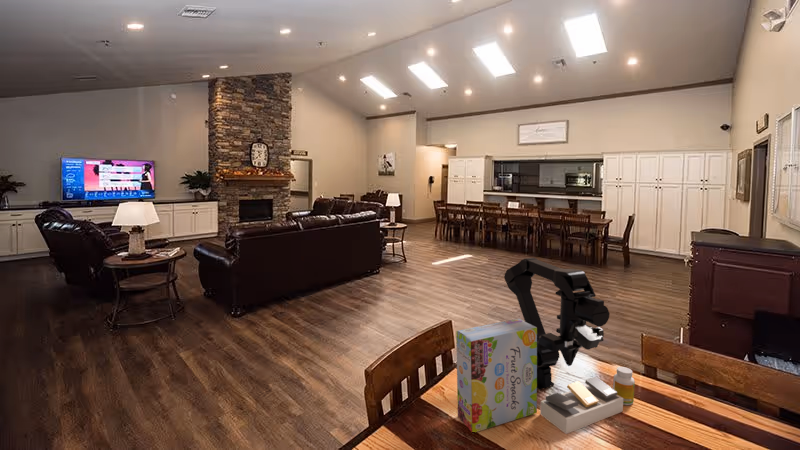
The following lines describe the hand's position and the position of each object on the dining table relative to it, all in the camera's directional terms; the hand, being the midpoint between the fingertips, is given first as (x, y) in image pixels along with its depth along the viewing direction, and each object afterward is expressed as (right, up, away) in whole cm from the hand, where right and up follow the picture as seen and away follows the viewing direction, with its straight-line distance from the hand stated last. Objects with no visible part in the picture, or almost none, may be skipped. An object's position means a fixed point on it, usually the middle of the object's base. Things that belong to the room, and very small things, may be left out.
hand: (568, 365), depth 109 cm
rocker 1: (-5, -7, -7) cm, 11 cm away
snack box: (-22, -13, -3) cm, 26 cm away
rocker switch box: (+2, -12, -3) cm, 13 cm away
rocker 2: (+9, -6, -1) cm, 11 cm away
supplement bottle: (+17, -12, +3) cm, 21 cm away
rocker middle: (+2, -7, -4) cm, 8 cm away
